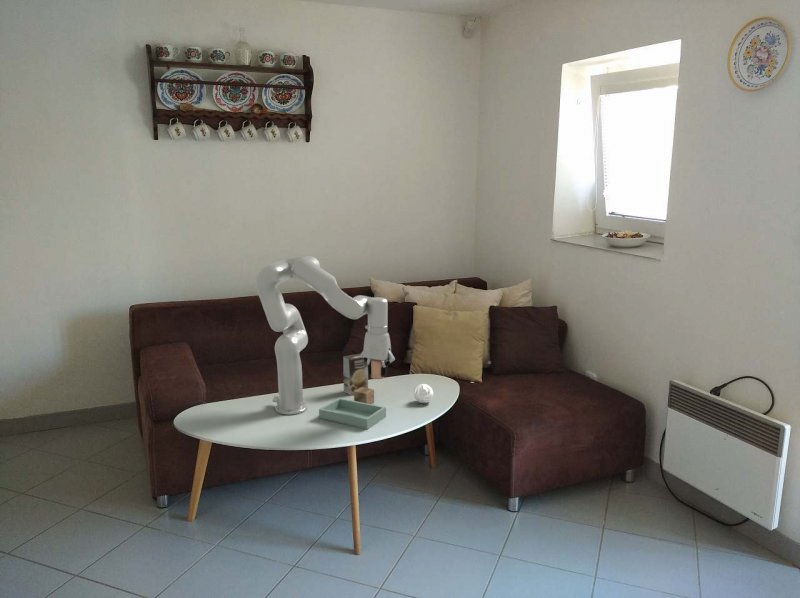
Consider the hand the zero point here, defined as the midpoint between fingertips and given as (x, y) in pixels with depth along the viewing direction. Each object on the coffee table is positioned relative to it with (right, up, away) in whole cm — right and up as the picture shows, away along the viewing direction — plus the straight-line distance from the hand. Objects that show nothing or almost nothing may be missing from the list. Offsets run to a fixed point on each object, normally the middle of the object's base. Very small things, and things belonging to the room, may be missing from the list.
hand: (377, 374), depth 244 cm
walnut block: (-6, -14, +16) cm, 22 cm away
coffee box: (-10, -11, +31) cm, 34 cm away
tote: (-10, -17, +1) cm, 20 cm away
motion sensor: (+19, -14, +17) cm, 29 cm away
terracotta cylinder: (0, -1, 0) cm, 1 cm away
